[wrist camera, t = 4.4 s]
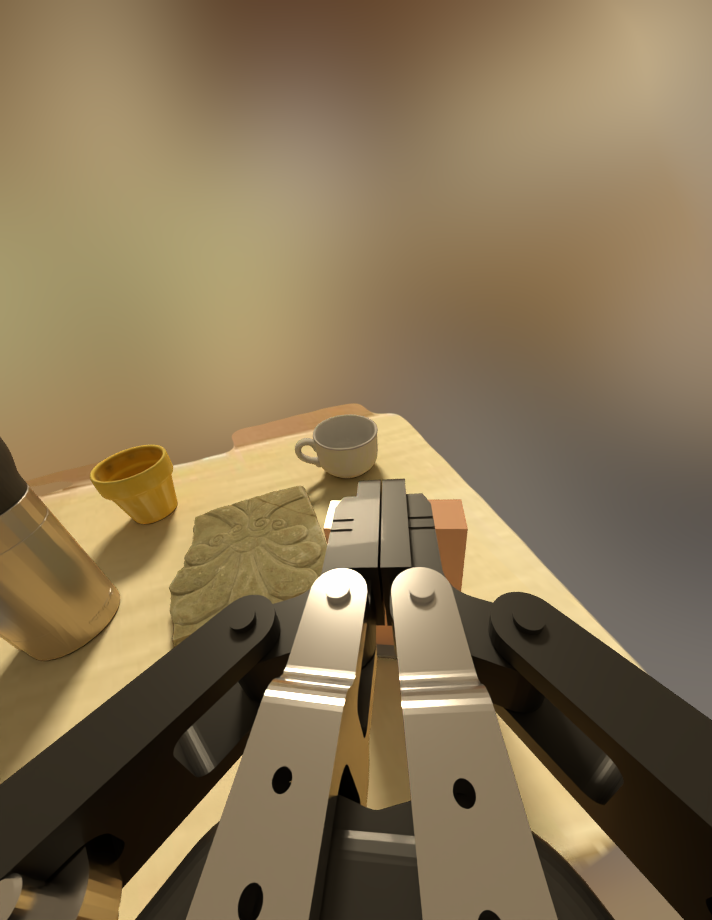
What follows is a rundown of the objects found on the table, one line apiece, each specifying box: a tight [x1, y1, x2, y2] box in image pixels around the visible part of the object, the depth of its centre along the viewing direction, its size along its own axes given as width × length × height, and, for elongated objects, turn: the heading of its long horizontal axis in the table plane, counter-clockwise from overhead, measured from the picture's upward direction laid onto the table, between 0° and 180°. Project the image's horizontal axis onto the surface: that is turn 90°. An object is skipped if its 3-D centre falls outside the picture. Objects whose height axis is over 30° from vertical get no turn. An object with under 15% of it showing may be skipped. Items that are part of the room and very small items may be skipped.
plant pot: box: [90, 445, 177, 524], centre depth 52 cm, size 10×10×10 cm
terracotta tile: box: [323, 500, 468, 645], centre depth 29 cm, size 10×3×16 cm, turn 83°
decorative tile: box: [169, 486, 327, 647], centre depth 43 cm, size 19×20×4 cm
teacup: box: [295, 414, 378, 478], centre depth 56 cm, size 14×11×8 cm
